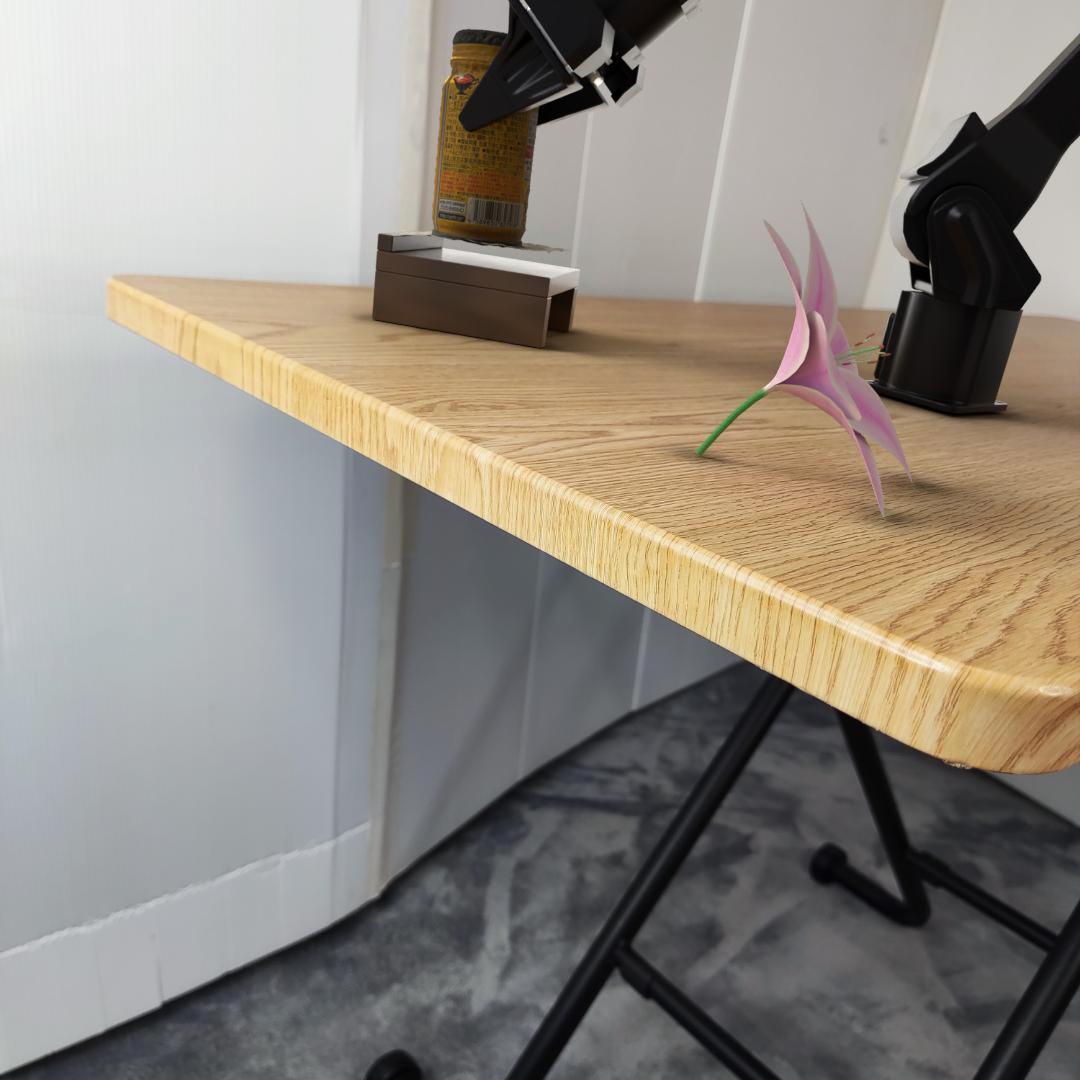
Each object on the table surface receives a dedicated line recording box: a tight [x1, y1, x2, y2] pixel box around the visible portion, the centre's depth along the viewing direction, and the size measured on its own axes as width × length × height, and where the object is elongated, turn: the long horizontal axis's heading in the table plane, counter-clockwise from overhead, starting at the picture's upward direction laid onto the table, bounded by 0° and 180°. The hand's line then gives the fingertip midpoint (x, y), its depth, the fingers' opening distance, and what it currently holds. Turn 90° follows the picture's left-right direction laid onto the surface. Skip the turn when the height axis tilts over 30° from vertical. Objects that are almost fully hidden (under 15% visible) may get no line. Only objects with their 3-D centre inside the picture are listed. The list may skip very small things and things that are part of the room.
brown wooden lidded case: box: [371, 230, 581, 349], centre depth 62 cm, size 11×10×5 cm
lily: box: [695, 199, 913, 518], centre depth 36 cm, size 12×12×10 cm
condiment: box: [402, 28, 571, 254], centre depth 59 cm, size 7×8×12 cm
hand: (477, 130), depth 59 cm, fingers closed on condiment, 6 cm apart
